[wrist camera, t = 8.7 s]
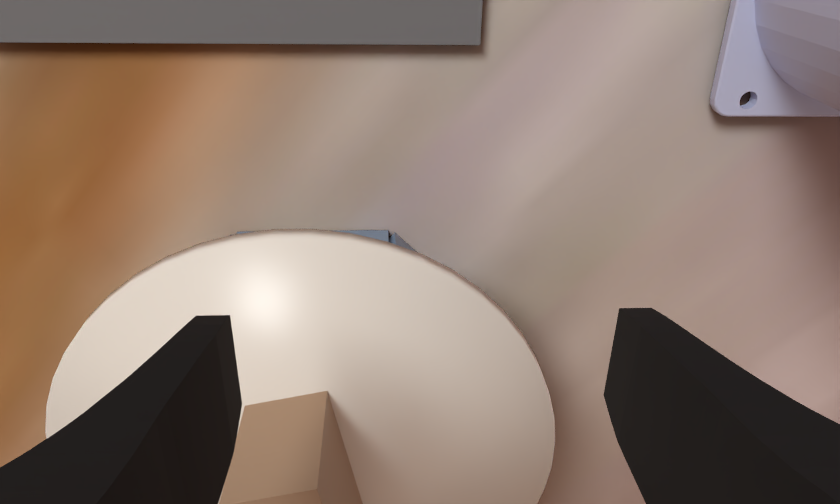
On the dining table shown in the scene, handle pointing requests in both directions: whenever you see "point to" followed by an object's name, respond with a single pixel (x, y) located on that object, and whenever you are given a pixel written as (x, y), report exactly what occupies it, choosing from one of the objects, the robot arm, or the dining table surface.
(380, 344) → the cover
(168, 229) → the dining table surface
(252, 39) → the mat
